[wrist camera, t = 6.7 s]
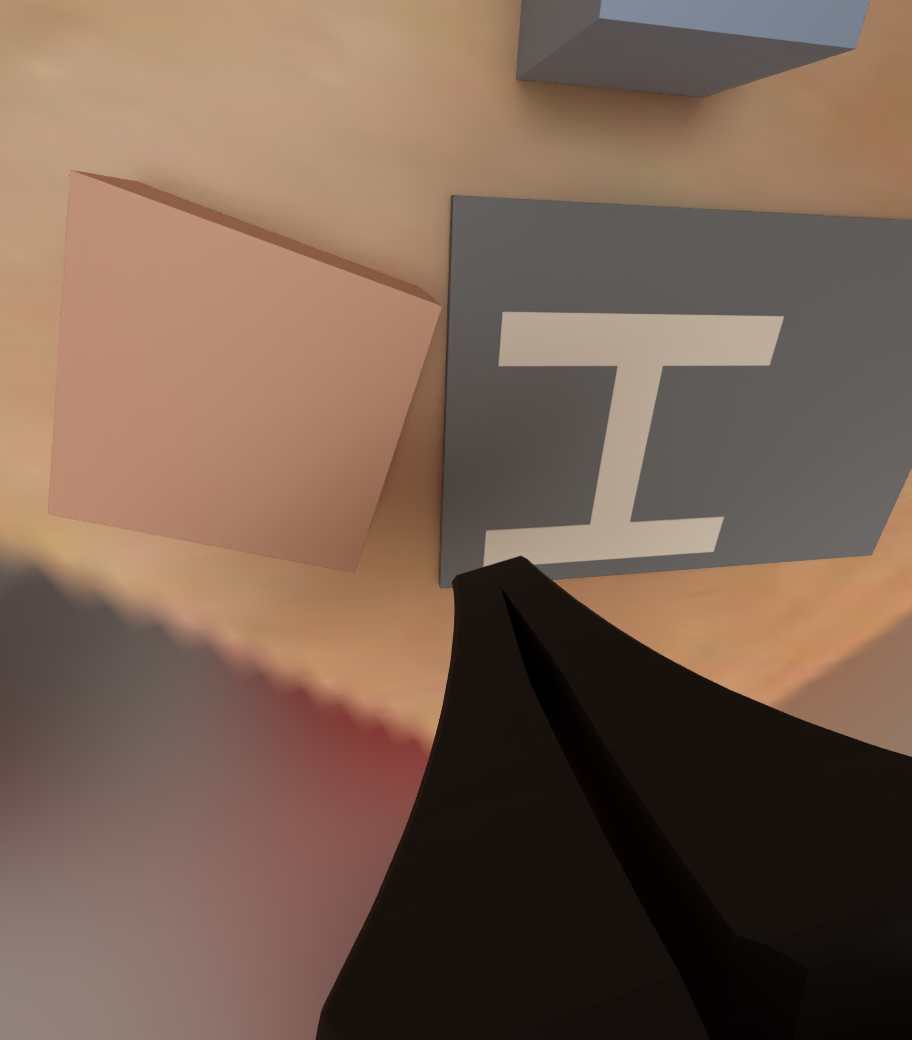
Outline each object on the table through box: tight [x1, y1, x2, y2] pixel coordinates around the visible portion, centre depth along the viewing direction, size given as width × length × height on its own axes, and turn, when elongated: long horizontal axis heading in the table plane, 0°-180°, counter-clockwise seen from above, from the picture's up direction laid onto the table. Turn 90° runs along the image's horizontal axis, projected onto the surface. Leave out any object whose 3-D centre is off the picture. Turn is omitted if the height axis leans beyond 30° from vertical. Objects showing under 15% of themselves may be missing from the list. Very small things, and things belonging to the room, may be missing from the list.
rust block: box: [48, 170, 442, 573], centre depth 14 cm, size 7×7×4 cm
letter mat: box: [439, 195, 912, 588], centre depth 19 cm, size 18×12×1 cm, turn 88°
